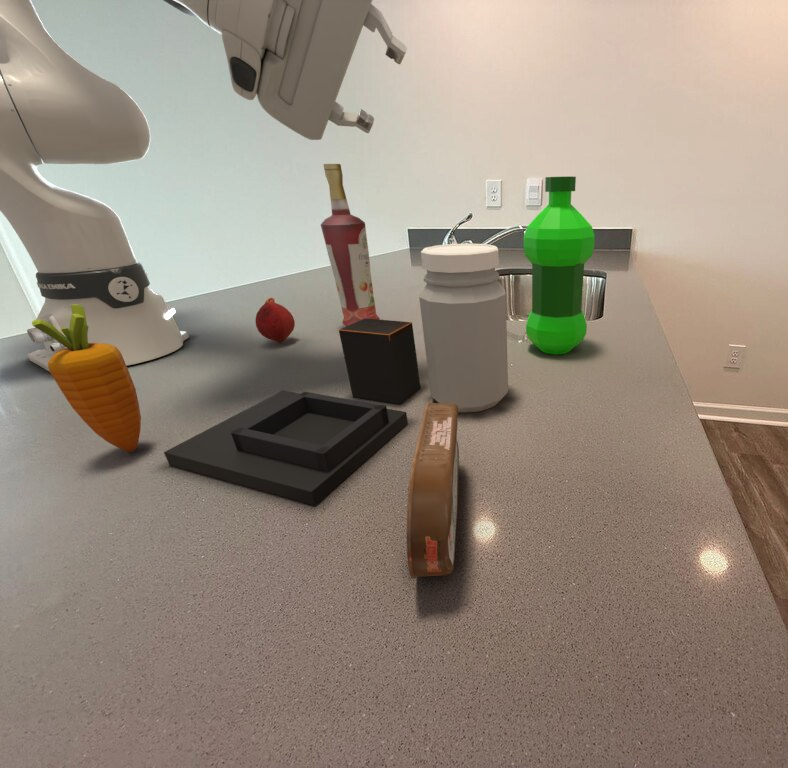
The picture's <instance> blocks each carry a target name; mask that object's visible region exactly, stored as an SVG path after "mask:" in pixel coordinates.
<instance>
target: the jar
mask: <svg viewBox="0 0 788 768" xmlns="http://www.w3.org/2000/svg"><path fill="white" fill-rule="evenodd" d="M499 257H500V256H499V248H498V246H496V245H493V244H486V243H449V244H437V245H432V246H426V247H424V248H423V249H422V250H421V251H420V259H421V265H422V270H425V271H426V274H425V275H424V276H423V282H424V283H426V284H425V286H424V288H423V289H422V291H421V293H420V295H419V297H418V298H419V306H420V307H419V308H420V316H421V324H422V332H423V342H424V350H425V358H426V366H427V367H426V368H427V375H428V383H429V393H430V397H431V398H432V399H434V400H435V402H436V403H452V404H456V405H458V413H461V414H462V413H464V414H465V413H480V412H482V411H485V410H488V409H492V408H494V407H495V406H496V405H498V404H499V402H501V401H502V400H503V398H504V397H505V396H506V395H507V394H508V392H509V369H508V365H509V364H508V363H509V362H508V328H507V327H508V326H507V324H508V323H507V295H506V294H507V293H506V290H505V287H504V286H503V285H502V284H501V283H500V282H499V279H500V273H499V271H496V268H498V267H500V266H499V265H500V264H499V263H500V262H499V261H500V260H499Z"/></svg>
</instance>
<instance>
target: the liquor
mask: <svg viewBox="0 0 788 768" xmlns="http://www.w3.org/2000/svg"><path fill="white" fill-rule="evenodd" d="M323 169H324V170H323V171H324V175H325V178H326V180H327V183H328V188H329V189H328V190H329V196H330V199H329V200H330V208H331V215H329V216H328V217H326V218H324V220H323V221H322V222H321V223H320V228H321V232H322V236H323V240H324V245H325V248H326V252H327V256H328V259H329V263H330V267H331V271H332V275H333V278H334V282H335V287H336V290H337V294H338V298H339V302H340V306H341V311H342V315H343V320H342V322H341V324H342V325H344V326H345V327H346V326H349V325H351V324H353V323H355V322H358V321H360V320H362V319H364V318H367V319H379V320H381V319H380V316H379V315H378V314H377V309H376V302H375V296H374V295H375V294H374V287H373V280H372V279H373V278H372V272H371V261H370V260H371V259H370V251H369V244H368V237H367V227H366V222H365V221H364V220H362V219H361V218H360V217H358V216H355V215H354V214H352V213H351V211H350V207H349V203H348V199H347V195H346V192H345V191H346V190H345V188H344V177H343V176H344V175H343V171H342V164H341V163H323Z"/></svg>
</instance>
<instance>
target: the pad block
mask: <svg viewBox="0 0 788 768" xmlns="http://www.w3.org/2000/svg"><path fill="white" fill-rule="evenodd" d="M413 326H414V325H413V322H412V321H403V320H402V321H401V320H390V319H389V320H388V319H367V318H364V319H362V320H360V321H358V322H355V323H353V324H351V325H349V326H346V325H345V326H344V327H342V328H340V329H338V333H339V339H340V343H341V348H342V353H343V359H344V362H345V367H346V372H347V375H348V381H349V386H350V391H351V395H352V397H353V398H357V399H363V400H369V401H375V402H381V403H382V402H383V403H390V404H395V405H401V404H402V403H403V402H405V401H406V400H407V399H409V398H410V397H411V396H412V395H414V393H416V392H417V391H418V390H419V389H421V381H420V380H421V379H420V374H419V365H418V357H417V349H416V341H415V334H414V327H413Z"/></svg>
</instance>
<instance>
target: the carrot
mask: <svg viewBox="0 0 788 768" xmlns="http://www.w3.org/2000/svg"><path fill="white" fill-rule="evenodd" d="M71 309H72V316H71V320H70V328H69V329H68V328H67V327H62V328H61V329H60V330H61V331H62V332H63V333H64V335H65V336H66V337H67V338H66V337H65V336H64V335H63V334H62V333H61V332H59V331H58V330H57V329H56V328H55V327H54V326H53V325H51V324H49V323H48V322H46V321H44V320H41V319H37V318H36V319H37V320H36V319H34V320H32V322H31V325H32V327H33V328H35V327H36V328H38V329H39V330H41V331H43V332H45V333H46V334H48V335H49V336H51V337H52V338H54V339H55V340H57V341H58V342H59V343H61V344H62V345H64V346H65V347H67V348H66V349H62V350H59V351H58V352H56V353H55V354H54V355H53V356H52V358H51V359H50V360H49V362H48V368H49V371H50V372H49V371H48V372H49V373H50V374H51V376H52V378H53V379H54V381H55V383H56V385H57V386H58V388H59V389H60V391H61V392H62V394H63V395H64V397H65V399H66V400H67V402H68V404H69V405H70V406H71V407H72V409H73V410H74V412H75V413H76V414H77V415H78V417H80V419H81V420H83V421H82V422H84V423H85V424H86V425H87V426H88V427H89V428H90V429H91V430H92V431H93V432H94V434H96V435H97V436H99V437H100V438H102V439H103V440H104V441H106V442H107V443H109V444H111V445H112V446H113V447H116V448H118V449H120V450H121V451H124V452H128V453H129V452H130V453H133V452H135V451H136V449H137V448H138V446H139V440H140V435H141V428H142V427H141V426H142V415H141V409H140V403H139V399H138V393H137V390H136V387H135V384H134V382H133V379H132V375H131V373H130V371H129V367H128V366H126V364H125V361H124V359H123V357H122V354H121V352H120V351H119V350H118V348H117V347H115V346H113V345H110V344H104V343H88V336H87V333H88V325H87V322H86V315H85V311H84V307H83V306H81V305H78V304H73V305H71Z"/></svg>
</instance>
